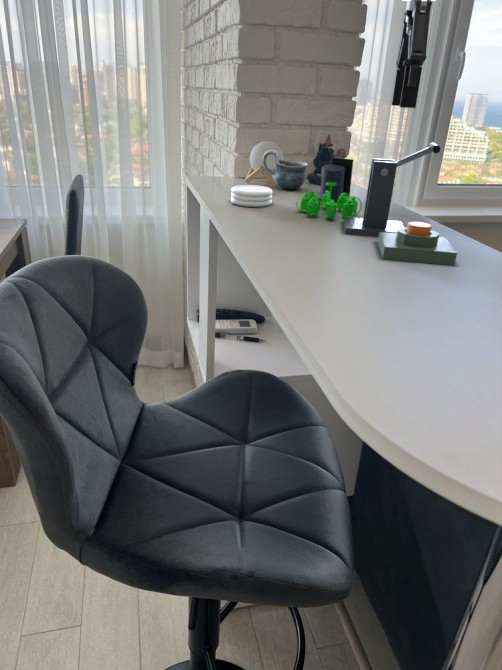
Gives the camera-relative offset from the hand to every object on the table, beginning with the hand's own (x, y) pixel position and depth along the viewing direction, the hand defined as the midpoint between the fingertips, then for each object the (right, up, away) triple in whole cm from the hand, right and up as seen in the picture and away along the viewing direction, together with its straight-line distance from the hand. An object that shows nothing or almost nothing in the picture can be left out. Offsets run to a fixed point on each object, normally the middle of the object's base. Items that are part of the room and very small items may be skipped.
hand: (402, 106), depth 97 cm
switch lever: (+2, -11, +2) cm, 11 cm away
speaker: (-8, -9, +34) cm, 36 cm away
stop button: (0, -26, -8) cm, 27 cm away
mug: (-20, -2, +46) cm, 50 cm away
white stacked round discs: (-29, -12, +26) cm, 41 cm away
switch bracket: (-4, -22, +8) cm, 24 cm away
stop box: (0, -29, -6) cm, 30 cm away
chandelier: (-11, -16, +20) cm, 28 cm away
